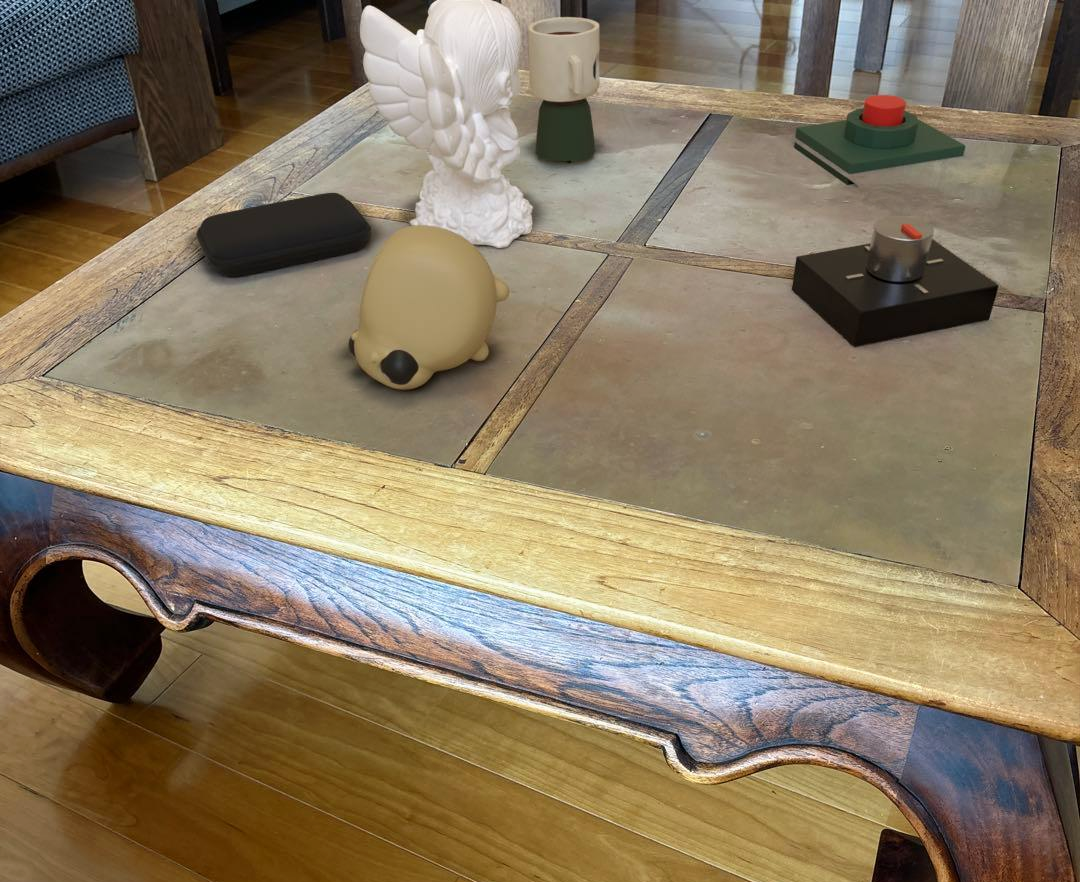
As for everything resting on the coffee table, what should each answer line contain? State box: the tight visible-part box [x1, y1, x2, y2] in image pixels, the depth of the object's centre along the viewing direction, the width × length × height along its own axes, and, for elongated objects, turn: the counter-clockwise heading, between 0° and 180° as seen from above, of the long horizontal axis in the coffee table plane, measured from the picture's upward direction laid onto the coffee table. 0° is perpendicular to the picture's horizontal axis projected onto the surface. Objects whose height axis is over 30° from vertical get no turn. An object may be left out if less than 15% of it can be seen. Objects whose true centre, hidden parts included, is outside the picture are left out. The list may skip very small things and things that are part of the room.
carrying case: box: [195, 192, 373, 278], centre depth 93 cm, size 11×3×15 cm
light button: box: [862, 94, 907, 126], centre depth 103 cm, size 4×4×2 cm
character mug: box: [527, 16, 601, 164], centre depth 105 cm, size 11×7×13 cm, turn 14°
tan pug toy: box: [348, 225, 510, 390], centre depth 75 cm, size 10×12×11 cm
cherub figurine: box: [359, 0, 534, 249], centre depth 89 cm, size 13×12×20 cm
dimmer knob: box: [866, 215, 935, 282], centre depth 80 cm, size 4×4×4 cm
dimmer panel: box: [791, 238, 1000, 348], centre depth 82 cm, size 12×10×3 cm
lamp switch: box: [793, 107, 966, 186], centre depth 105 cm, size 13×11×4 cm
